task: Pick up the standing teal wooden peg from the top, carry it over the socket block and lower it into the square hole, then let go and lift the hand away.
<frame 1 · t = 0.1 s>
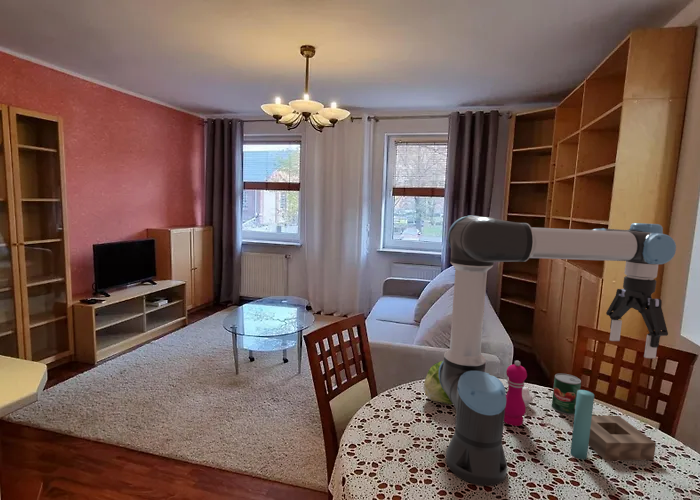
hand: (631, 348, 115), 28 cm above the table, tool pointing down, fingers open, 13 cm apart
pepper mill: (512, 421, 125), on the table
peg: (578, 454, 109), on the table
white citrus juicer: (521, 405, 135), on the table
canned tomato: (564, 409, 134), on the table
lettuce: (451, 401, 136), on the table
socket block: (611, 444, 114), on the table
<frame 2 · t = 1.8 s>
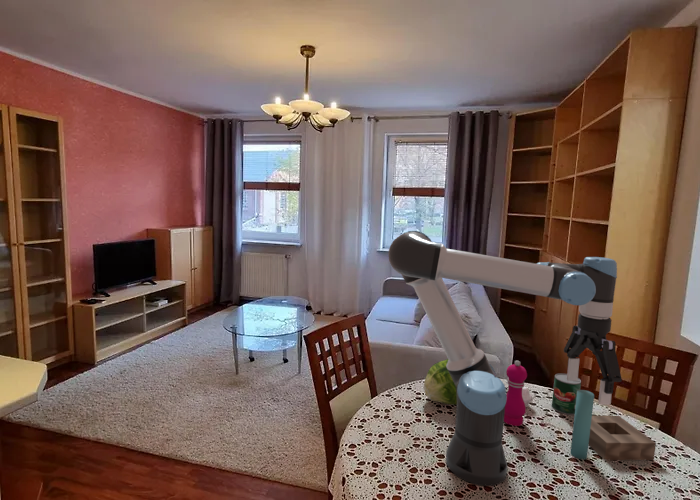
hand: (587, 391, 107), 19 cm above the table, tool pointing down, fingers open, 13 cm apart
nothing on the table moved.
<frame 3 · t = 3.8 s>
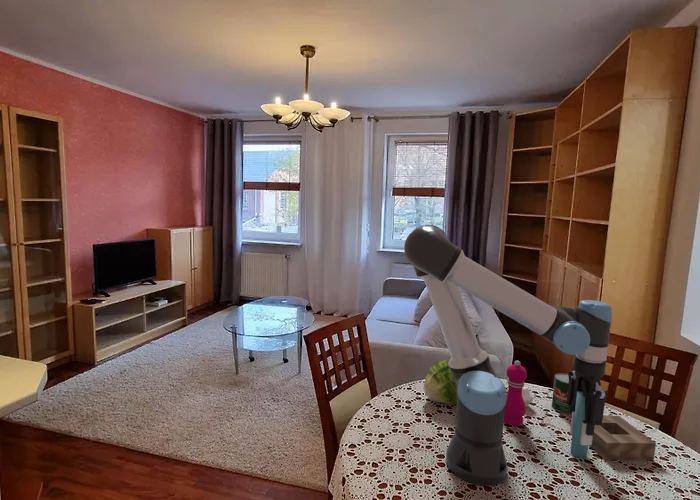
hand: (580, 439, 108), 5 cm above the table, tool pointing down, fingers closed on peg, 4 cm apart
peg: (578, 454, 109), on the table, touching gripper
everything else where it was.
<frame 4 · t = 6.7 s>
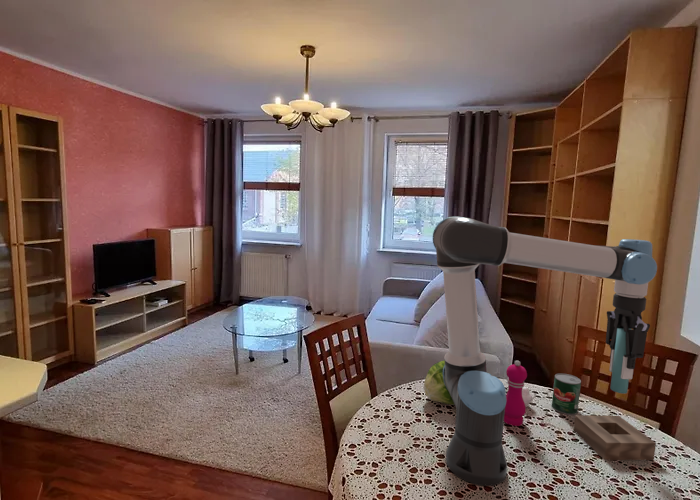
hand: (620, 374, 112), 21 cm above the table, tool pointing down, fingers closed on peg, 4 cm apart
peg: (618, 390, 112), point 17 cm above the table, touching gripper
everything else where it was.
when the fingers open (7 cm above the table, at t = 9.6 s): peg drops 2 cm, resting in socket block.
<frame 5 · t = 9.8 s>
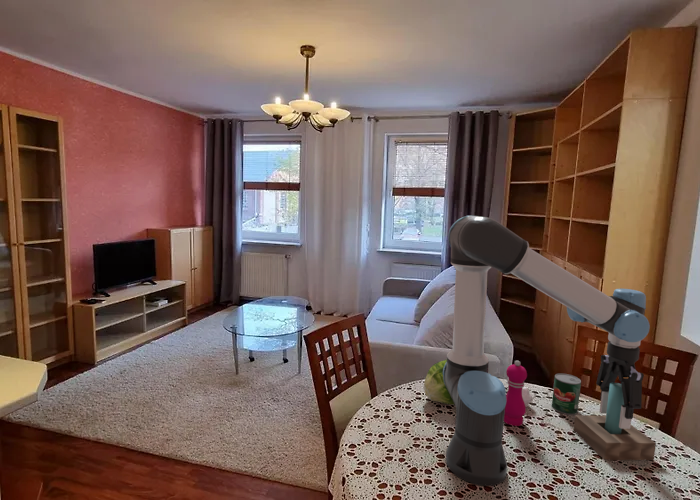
hand: (614, 419, 113), 8 cm above the table, tool pointing down, fingers open, 7 cm apart
peg: (611, 444, 114), resting in socket block
everything else where it was.
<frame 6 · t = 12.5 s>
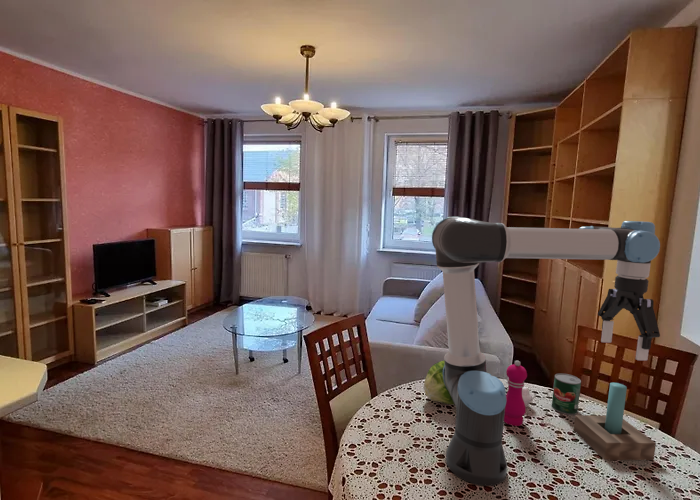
hand: (622, 350, 111), 28 cm above the table, tool pointing down, fingers open, 13 cm apart
nothing on the table moved.
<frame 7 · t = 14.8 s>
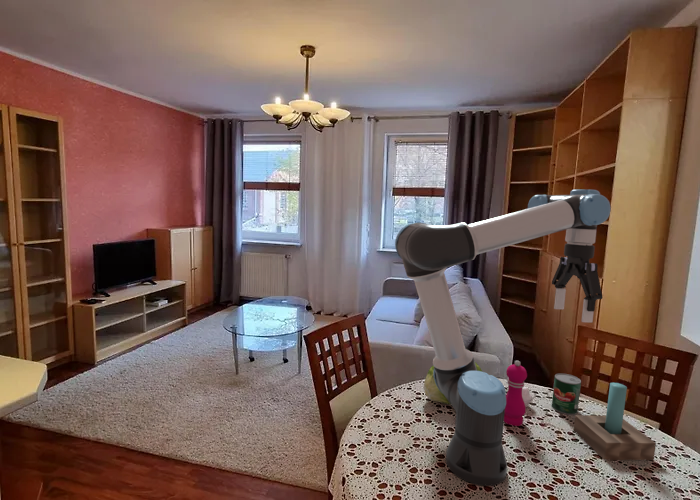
hand: (572, 315, 116), 37 cm above the table, tool pointing down, fingers open, 13 cm apart
nothing on the table moved.
at the end: peg 0.1 cm off-centre on the socket block, point 0.0 cm above the socket block's base; peg tilted 0°; the gripper is holding nothing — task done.
